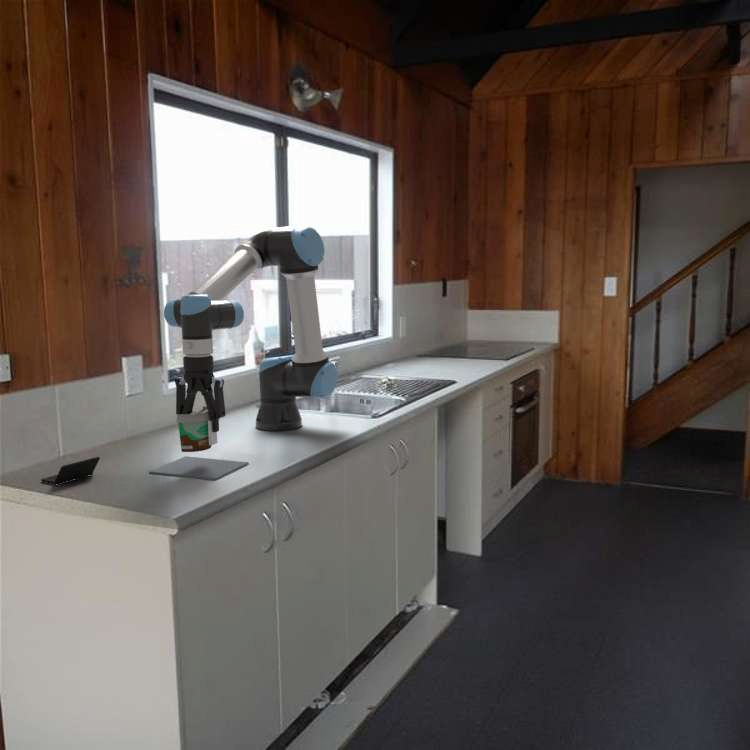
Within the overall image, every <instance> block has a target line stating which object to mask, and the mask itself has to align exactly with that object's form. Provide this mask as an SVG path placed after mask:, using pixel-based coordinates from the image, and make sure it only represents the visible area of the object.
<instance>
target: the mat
mask: <svg viewBox="0 0 750 750" xmlns="http://www.w3.org/2000/svg"><path fill="white" fill-rule="evenodd" d="M247 464H248V465H249V464H250V463H249V462H248V461H239V460H238V461H237V460H230V459H229V460H228V459H218V458H217V459H215V458H206V457H196V456H187V455H186V456H182V457H180V458H177V459H176V460H173V461H171V462H168V463H165V464H163V465H161V466H158V467H156V468H154V469H151V470H149V471H148V474H153V475H160V476H161V475H163V476H172V477H181V478H189V479H190V478H191V479H199V480H208V481H209V480H210V481H217V480H220V479H222V478H224V477H225V475H226V476H228V475H230V474H232V473H234V472H236V471H237V469H238V470H240V469H242V468H244V467H245V465H246V466H248V465H247ZM243 466H244V467H243ZM241 467H242V468H241ZM239 468H240V469H239ZM235 470H236V471H235ZM233 471H234V472H233ZM231 472H232V473H231ZM229 473H230V474H229ZM227 474H228V475H227ZM223 476H224V477H223ZM221 477H222V478H221ZM219 478H220V479H219Z"/></svg>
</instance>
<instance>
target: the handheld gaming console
mask: <svg viewBox="0 0 750 750" xmlns="http://www.w3.org/2000/svg"><path fill="white" fill-rule="evenodd" d="M100 459H101V457H99V456H96V457H92V458H89V459H85V460H81V461H76V462H73V463H69V464H65V465H61V467H60V469H59V471H58V473H57V474H56V475H52V476H51V475H50V476H48V477H44V478H41V479H40V480H41V481H42V482H47V483H51V484H55V485H56V484H60V483H63V482H66V481H70V480H73V479H77V480H79V479H78V478H81V477H84V478H86V477H85V476H88V475H91V476H93V475H94V471H95V470H96V468H97V465H98V463H99V461H100ZM92 474H93V475H92ZM88 477H89V476H88ZM81 479H82V478H81ZM42 482H41V483H42ZM70 482H71V481H70ZM47 483H46V484H47ZM66 483H67V482H66ZM51 484H50V485H51ZM63 484H64V483H63ZM55 485H54V486H55ZM60 485H61V484H60ZM56 486H57V485H56Z"/></svg>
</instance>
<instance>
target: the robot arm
mask: <svg viewBox="0 0 750 750" xmlns="http://www.w3.org/2000/svg"><path fill="white" fill-rule="evenodd" d="M324 255H325V245H324V241H323V239H322V237H321V235H320V233H319V232H317V230H316V229H315V228H313V227H311V226H302V225H296V226H295V225H294V226H280V227H279V226H278V227H277V226H275V227H273V226H272V227H271V226H270V227H266V228H263V229H261V230H259V231H257V232H256V233H253V234H252V235H251V236H249V237H247V238H246V239H245V240H244V241H242V242H241V243H240V244H239V245H238V246H236V247H235V250H234V253H233V255H231V256H230V257H229V258H228V259H227V260H226V261H224V262H223V263H222V264H221V265H220V266H218V267H217V268H216V269H215V270H214V271H213V272H212V273H211V274H210V275H208V276H207V277H206V278H204V280H202V281H201V282H200V283H199V284H198V285H196V287H194V288H193V289H192V290H191V291H189V293H188V294H184V295H183V296H181V298H180V299H179V298H176V299H172V300H169V301H168V302H167V303H166V304H165V306H164V309H163V317H164V320H165V322H166V323H167V324H168V325H169V326H171V327H175V328H176V327H177V328H181V335H182V336H181V337H182V340H181V342H182V344H181V345H182V354H183V355H185V356H183V358H182V364H183V366H182V367H183V370H184V374H183V376H179V377H175V378H174V383H175V387H176V389H175V397H176V398H175V399H176V400H175V402H176V403H175V414H176V415H177V414H188V413H190V412H193V410H194V409H193V408H194V405H195V401H196V398H197V397H196V396H197V394H198V392H200V393H201V396H203V399H204V402H205V405H206V407H207V409H208V412H209V415H210V418H211V419H209V420H208V434H209V445H211V446H213V445H216V444H218V434H217V433H218V432H219V431H220V419H221V418H222V419H223V418H224V417H226V415H227V413H226V405H225V396H224V395H225V393H224V385H225V379H223V378H217V377H215V374H214V372H213V371H214V368H215V367H214V356H213V355H212V354H213V353H214V345H213V344H214V343H213V331H214V330H216V331H217V330H225V329H226V330H228V329H229V330H230V329H232V328H237V327H239V326H240V325H241V324H242V323H243V321H244V319H245V312H244V308H243V306H242V303H240V302H239V301H237V300H233V299H232V300H231V299H225V298H226V297H227V296H229V294H230V293H231V292H232V291H234V290H235V289H236V288H237V287H238V286H239V285H240V284H241V283H242V282H244V280H246V279H247V278H248V277H249V276H250V275H251V274H255V273H258V272H259V271H260V270H261V269H263V268H266V267H270V266H272V267H275V266H276V267H278V266H279V270H280V274H281V275H282V276H283V277H284V278H285V279H286V287H287V295H288V303H289V310H290V318H291V326H292V328H291V329H292V335H293V342H294V343H293V344H294V351H295V353H294V355H293V354H292V355H291V354H290V355H282V356H275V357H267V358H263V359H261V360H260V361H259V370H258V375H259V376H258V377H259V398H260V404H259V407H258V412H257V415H256V419H255V428H256V429H259V430H262V431H287V430H289V431H290V430H295V429H299V428H300V427H301V426H302V425H303V422H302V421H303V419H302V415H301V413H300V410H299V407H298V403H297V398H305V399H306V398H307V399H313V400H316V399H318V400H319V399H320V400H322V399H323V400H324V399H326V398H327V399H328V397H330V396H331V395H332V394H333V393H334V391H335V388H337V387H336V386H337V383H338V378H339V371H338V367H337V366H336V364H334V363H333V362H332V361H331V362H330V359H329V354H328V353H327V352H326V351H325V350H324V348H323V341H322V333H321V323H320V316H319V313H320V312H319V308H318V307H319V305H318V297H317V289H316V280H315V276H316V275H315V274H316V273H317V272H318V271H319V265H321V263H322V262H323V260H324ZM186 384H187V385H186ZM186 387H187V388H186ZM301 428H302V427H301Z"/></svg>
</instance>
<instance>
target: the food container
mask: <svg viewBox="0 0 750 750" xmlns="http://www.w3.org/2000/svg"><path fill="white" fill-rule="evenodd" d="M176 415H177V416H176V423H177V424H178V432H179V440H180V441H179V442H180V450H181V452H182V453H183V452H184V453H194V452H195V453H196V452H203V451H207V450H210V449H211V448H212V445H209V434H208V420H209V419H211V418H210V415H209V412H208V409H207V406H205V405H204V406H202V409H201V410H198V411H192V412H190V413H188V414H176Z"/></svg>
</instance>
